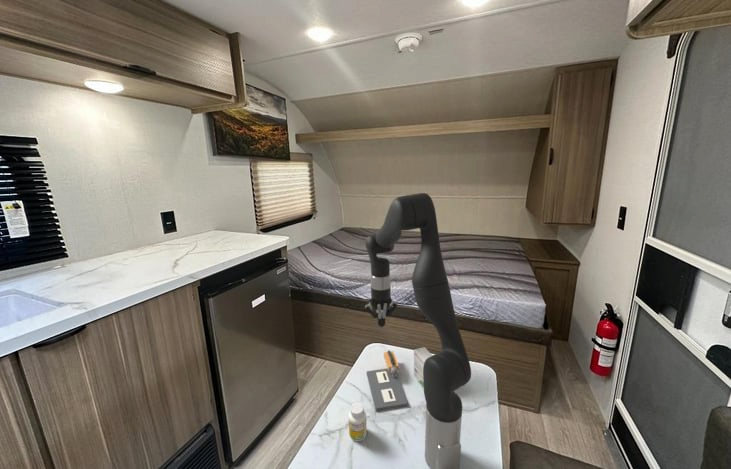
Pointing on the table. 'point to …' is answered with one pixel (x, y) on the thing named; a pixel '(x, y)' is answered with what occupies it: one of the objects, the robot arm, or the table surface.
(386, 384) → the tray
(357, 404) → the supplement bottle
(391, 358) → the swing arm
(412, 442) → the table surface
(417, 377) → the ink box
